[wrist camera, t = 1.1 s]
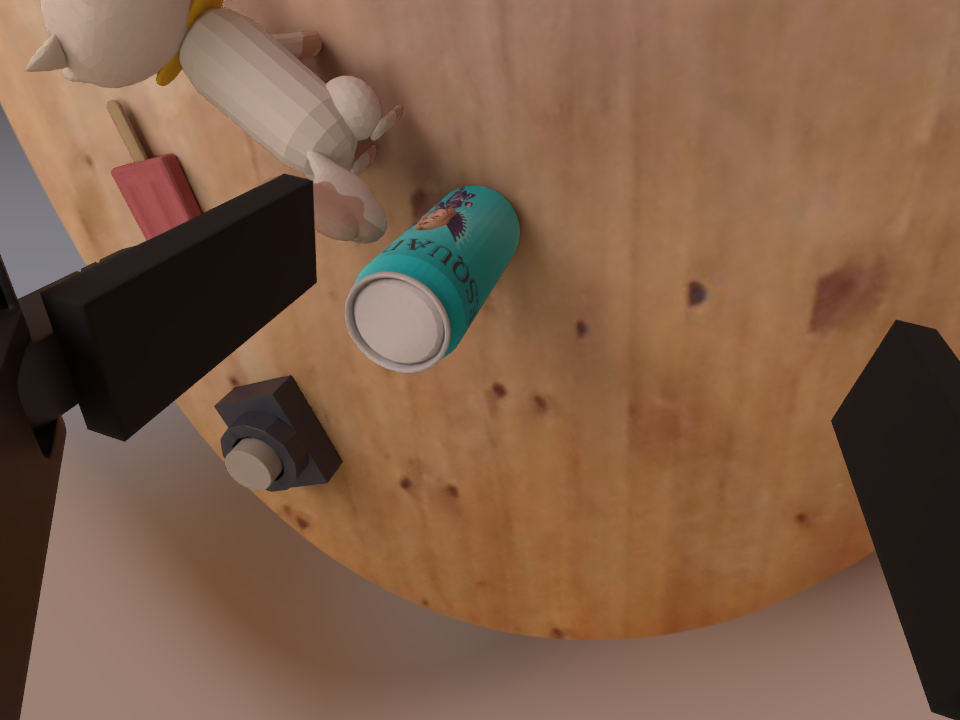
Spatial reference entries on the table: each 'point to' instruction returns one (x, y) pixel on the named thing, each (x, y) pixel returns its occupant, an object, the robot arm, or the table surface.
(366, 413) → the table surface
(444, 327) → the beverage can
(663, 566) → the table surface
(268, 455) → the plunger
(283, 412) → the button base
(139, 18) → the toy
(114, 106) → the popsicle
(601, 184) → the table surface
